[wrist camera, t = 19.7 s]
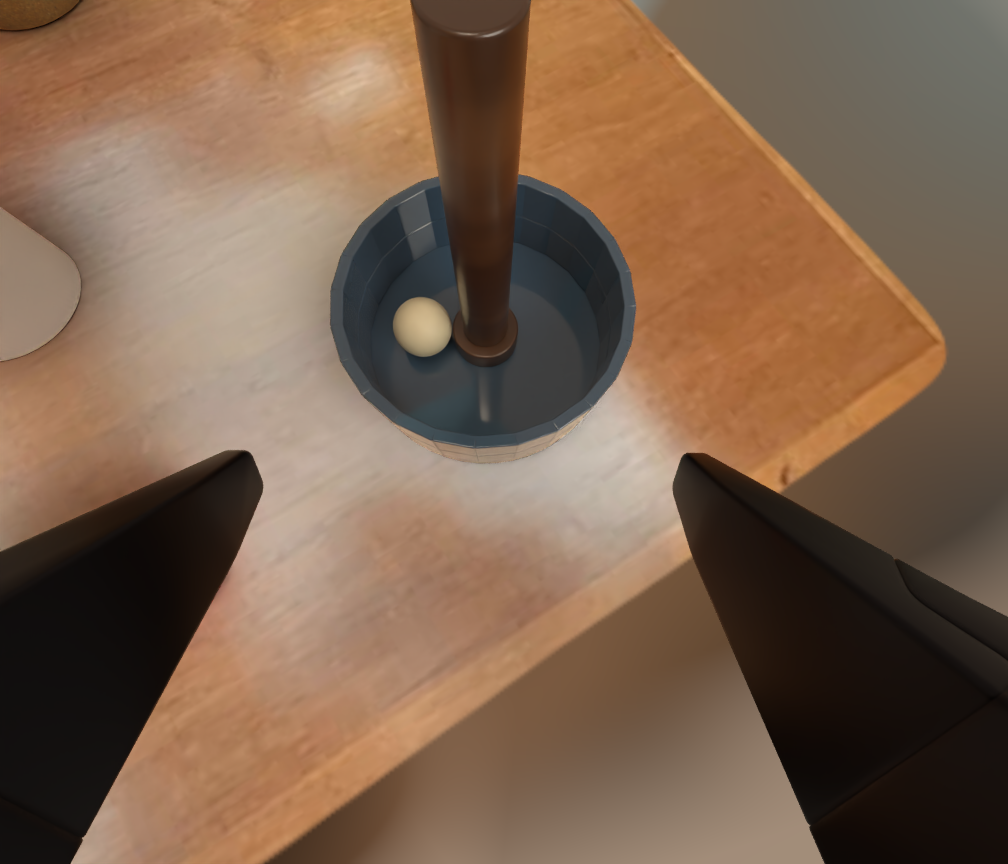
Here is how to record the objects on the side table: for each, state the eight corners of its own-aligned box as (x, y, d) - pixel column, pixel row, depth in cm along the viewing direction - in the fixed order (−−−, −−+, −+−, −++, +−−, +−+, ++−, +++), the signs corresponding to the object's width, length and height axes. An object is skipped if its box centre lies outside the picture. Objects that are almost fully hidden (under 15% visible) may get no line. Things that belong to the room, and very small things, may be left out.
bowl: (617, 262, 21) (649, 196, 17) (587, 484, 19) (617, 474, 14) (397, 224, 21) (372, 148, 17) (338, 439, 19) (291, 415, 14)
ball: (459, 310, 19) (457, 305, 16) (445, 362, 19) (440, 365, 17) (406, 292, 19) (395, 284, 16) (393, 346, 19) (380, 347, 17)
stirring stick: (518, 366, 19) (569, 59, 6) (455, 368, 19) (375, 60, 6) (514, 309, 20) (554, -77, 7) (454, 311, 19) (378, -78, 7)
